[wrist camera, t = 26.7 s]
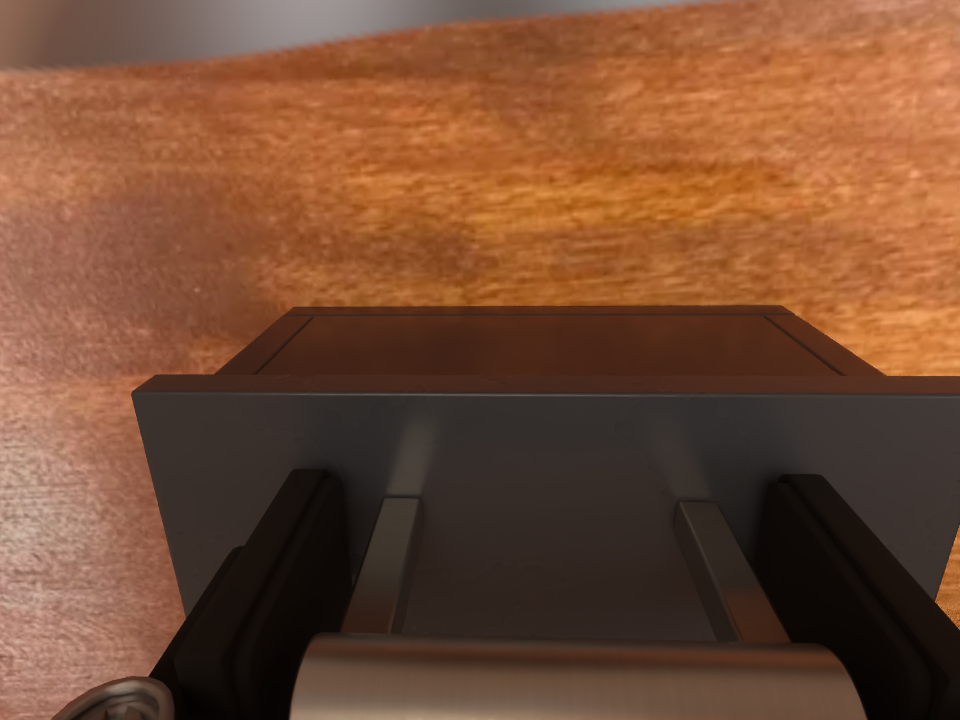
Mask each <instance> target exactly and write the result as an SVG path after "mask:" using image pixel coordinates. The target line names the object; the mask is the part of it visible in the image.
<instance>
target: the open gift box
mask: <svg viewBox="0 0 960 720" xmlns="http://www.w3.org/2000/svg"><path fill="white" fill-rule="evenodd" d="M214 375H604V376H886V375H885V374H883V373H882V372H880V371H879V370H877V369H876V368H874V367H873V366H871V365H870V364H868V363H867V362H865V361H864V360H862V359H861V358H859V357H858V356H856V355H855V354H853V353H852V352H850V351H849V350H847V349H846V348H844V347H843V346H842V345H840V344H839V343H837V342H836V341H834V340H833V339H831V338H830V337H828V336H827V335H825V334H824V333H822V332H821V331H819V330H818V329H816V328H815V327H813V326H812V325H810V324H809V323H807V322H806V321H804V320H803V319H801V318H800V317H798V316H796V315H795V314H794V313H792V312H791V311H789V310H788V309H786V308H785V307H784V306H781V305H774V306H468V307H293V308H292V309H290V310H289V311H288V312H287V313H286V314H285V315H284V316H282V317H281V318H280V319H278V320H277V321H276V322H275V323H274V324H272V325H271V326H270V327H269V328H268V329H267V330H265V331H264V332H263V333H262V334H261V335H260V336H258V337H257V338H256V339H255V340H254V341H252V342H251V343H250V344H249V345H248V346H247V347H245V348H244V349H243V350H242V351H241V352H239V353H238V354H237V355H236V356H235V357H234V358H232V359H231V360H230V361H229V362H228V363H227V364H225V365H224V366H223V367H222V368H221V369H219V370H218V371H217V372H216V373H215V374H214Z"/></svg>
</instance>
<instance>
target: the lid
mask: <svg viewBox="0 0 960 720" xmlns="http://www.w3.org/2000/svg"><path fill="white" fill-rule="evenodd" d="M131 396H132V400H133V404H134V408H135V412H136V416H137V420H138V424H139V428H140V433H141V437H142V441H143V445H144V449H145V453H146V457H147V461H148V465H149V469H150V473H151V477H152V481H153V485H154V489H155V493H156V497H157V501H158V506H159V510H160V514H161V518H162V522H163V526H164V530H165V534H166V538H167V542H168V546H169V550H170V554H171V558H172V562H173V566H174V570H175V575H176V579H177V583H178V587H179V591H180V595H181V599H182V603H183V607H184V611H185V615H186V618H187V617H188V615H189V614H190V612H191V611H192V609H193V608H194V606H195V605H196V603H197V602H198V600H199V598H200V597H201V595H202V594H203V592H204V591H205V589H206V588H207V586H208V585H209V583H210V582H211V580H212V579H213V577H214V576H215V574H216V572H217V571H218V569H219V568H220V566H221V565H222V563H223V562H224V560H225V559H226V557H227V556H228V554H229V553H230V552H231V551H232V550H233V549H234V548H235V547H238V546H244V545H245V544H246V542H247V540H248V539H249V537H250V536H251V534H252V532H253V531H254V529H255V528H256V526H257V525H258V523H259V521H260V520H261V518H262V517H263V515H264V513H265V512H266V510H267V509H268V507H269V505H270V504H271V502H272V501H273V499H274V498H275V496H276V494H277V493H278V491H279V490H280V488H281V486H282V485H283V483H284V482H285V480H286V478H287V477H288V475H289V474H290V472H291V471H292V470H293V469H327V470H328V472H329V474H330V478H339V480H340V483H341V489H342V498H343V507H344V515H345V524H346V533H347V541H348V550H349V559H350V567H351V576H352V585H353V589H352V592H351V594H350V597H349V600H348V603H347V606H346V609H345V612H344V615H343V618H342V621H341V624H340V627H339V630H338V632H321V633H318V634H316V635H314V636H313V637H312V638H311V639H310V641H309V643H308V644H307V646H306V648H305V650H304V652H303V655H302V657H301V660H300V662H299V665H298V668H297V671H296V675H295V678H294V682H293V686H292V691H291V696H290V701H289V707H288V714H287V720H869V718H868V715H867V712H866V708H865V706H864V703H863V700H862V697H861V695H860V692H859V690H858V688H857V686H856V684H855V681H854V679H853V678H852V676H851V674H850V672H849V671H848V669H847V668H846V666H845V665H844V663H843V662H842V661H841V659H840V658H839V657H838V656H837V655H836V654H835V653H834V652H833V651H832V650H830V649H829V648H827V647H825V646H823V645H820V644H816V643H794V642H793V640H792V638H791V636H790V635H789V633H788V631H787V629H786V627H785V625H784V624H783V622H782V620H781V618H780V616H779V614H778V613H777V611H776V609H775V607H774V605H773V603H772V602H771V600H770V598H769V596H768V594H767V592H766V591H765V589H764V587H763V585H762V583H761V581H760V580H759V578H758V576H757V574H756V572H755V570H754V569H753V563H754V558H755V552H756V546H757V541H758V535H759V530H760V524H761V519H762V513H763V507H764V502H765V496H766V491H767V487H768V485H769V484H770V483H777V482H778V479H779V478H780V476H781V475H783V474H819V475H822V476H823V477H824V478H825V479H826V480H827V481H828V482H829V483H830V484H831V485H832V487H833V488H834V489H835V490H836V491H837V492H838V493H839V494H840V496H841V497H842V498H843V499H844V500H845V501H846V502H847V503H848V505H849V506H850V507H851V508H852V509H853V510H854V511H855V513H856V514H857V515H858V516H859V517H860V518H861V519H862V520H863V522H864V523H865V524H866V525H867V526H868V527H869V528H870V529H871V531H872V532H873V533H874V534H875V535H876V536H877V537H878V538H879V540H880V541H881V542H882V543H883V544H884V545H885V546H886V547H887V549H888V550H889V551H890V552H891V553H892V554H893V555H894V557H895V558H896V559H897V560H898V561H899V562H900V563H901V564H902V566H903V567H904V568H905V569H906V570H907V571H908V572H909V573H910V575H911V576H912V577H913V578H914V579H915V580H916V581H917V582H918V584H919V585H920V586H921V587H922V588H923V589H924V590H925V591H926V593H927V594H928V595H929V596H930V597H931V598H932V599H933V601H934V602H935V599H936V596H937V593H938V590H939V586H940V583H941V580H942V577H943V574H944V571H945V568H946V565H947V562H948V559H949V555H950V552H951V549H952V546H953V543H954V540H955V537H956V534H957V531H958V528H959V524H960V376H604V375H154V376H153V377H152V378H150V379H149V380H147V381H146V382H145V383H143V384H142V385H140V386H139V387H138V388H136V389H135V390H133V391H132V393H131Z"/></svg>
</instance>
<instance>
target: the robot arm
mask: <svg viewBox="0 0 960 720" xmlns="http://www.w3.org/2000/svg"><path fill="white" fill-rule="evenodd" d="M753 569H754V570H755V572H756V574H757V576H758V578H759V580H760V581H761V583H762V585H763V587H764V589H765V591H766V592H767V594H768V596H769V598H770V600H771V602H772V603H773V605H774V607H775V609H776V611H777V613H778V614H779V616H780V618H781V620H782V622H783V624H784V625H785V627H786V629H787V631H788V633H789V635H790V636H791V638H792V640H793V642H794V643H816V644H820V645H823V646H825V647H827V648H829V649H830V650H832V651H833V652H834V653H835V654H836V655H837V656H838V657H839V658H840V659H841V661H842V662H843V663H844V665H845V666H846V668H847V669H848V671H849V672H850V674H851V676H852V678H853V679H854V681H855V684H856V686H857V688H858V690H859V692H860V695H861V697H862V700H863V703H864V706H865V708H866V712H867V715H868V718H869V720H960V630H959V629H958V628H957V626H956V625H955V624H954V623H953V622H952V621H951V620H950V619H949V617H948V616H947V615H946V614H945V613H944V612H943V611H942V610H941V608H940V607H939V606H938V605H937V604H936V603H935V602H934V601H933V599H932V598H931V597H930V596H929V595H928V594H927V593H926V591H925V590H924V589H923V588H922V587H921V586H920V585H919V584H918V582H917V581H916V580H915V579H914V578H913V577H912V576H911V575H910V573H909V572H908V571H907V570H906V569H905V568H904V567H903V566H902V564H901V563H900V562H899V561H898V560H897V559H896V558H895V557H894V555H893V554H892V553H891V552H890V551H889V550H888V549H887V547H886V546H885V545H884V544H883V543H882V542H881V541H880V540H879V538H878V537H877V536H876V535H875V534H874V533H873V532H872V531H871V529H870V528H869V527H868V526H867V525H866V524H865V523H864V522H863V520H862V519H861V518H860V517H859V516H858V515H857V514H856V513H855V511H854V510H853V509H852V508H851V507H850V506H849V505H848V503H847V502H846V501H845V500H844V499H843V498H842V497H841V496H840V494H839V493H838V492H837V491H836V490H835V489H834V488H833V487H832V485H831V484H830V483H829V482H828V481H827V480H826V479H825V478H824V477H823V476H822V475H819V474H783V475H781V476H780V478H779V479H778V482H777V483H770V484H769V485H768V487H767V491H766V496H765V502H764V507H763V513H762V519H761V524H760V530H759V535H758V541H757V546H756V552H755V558H754V563H753ZM352 589H353V585H352V576H351V567H350V559H349V550H348V541H347V533H346V524H345V515H344V507H343V498H342V489H341V483H340V480H339V478H330V474H329V472H328V470H327V469H293V470H292V471H291V472H290V474H289V475H288V477H287V478H286V480H285V482H284V483H283V485H282V486H281V488H280V490H279V491H278V493H277V494H276V496H275V498H274V499H273V501H272V502H271V504H270V505H269V507H268V509H267V510H266V512H265V513H264V515H263V517H262V518H261V520H260V521H259V523H258V525H257V526H256V528H255V529H254V531H253V532H252V534H251V536H250V537H249V539H248V540H247V542H246V544H245V545H244V546H238V547H235V548H234V549H233V550H232V551H231V552H230V553H229V554H228V556H227V557H226V559H225V560H224V562H223V563H222V565H221V566H220V568H219V569H218V571H217V572H216V574H215V576H214V577H213V579H212V580H211V582H210V583H209V585H208V586H207V588H206V589H205V591H204V592H203V594H202V595H201V597H200V598H199V600H198V602H197V603H196V605H195V606H194V608H193V609H192V611H191V612H190V614H189V615H188V617H187V618H186V620H185V621H184V623H183V625H182V626H181V628H180V629H179V631H178V632H177V634H176V635H175V637H174V638H173V640H172V641H171V643H170V644H169V646H168V647H167V649H166V651H165V652H164V654H163V655H162V657H161V658H160V660H159V661H158V663H157V664H156V666H155V667H154V669H153V670H152V672H151V673H150V675H149V677H138V676H130V677H126V678H121V679H117V680H112V681H109V682H107V683H104V684H102V685H100V686H97V687H95V688H93V689H90V690H89V691H87V692H85V693H84V694H82V695H81V696H79V697H78V698H76V699H74V700H73V701H71V702H70V703H69V704H67V705H66V706H65V707H64V708H63V709H62V710H61V711H60V712H59V713H57V714H56V715H55V716H54V717H53V718H52V719H51V720H287V714H288V707H289V701H290V696H291V691H292V686H293V682H294V678H295V675H296V671H297V668H298V665H299V662H300V660H301V657H302V655H303V652H304V650H305V648H306V646H307V644H308V643H309V641H310V639H311V638H312V637H313V636H314V635H316V634H318V633H321V632H338V630H339V627H340V624H341V621H342V618H343V615H344V612H345V609H346V606H347V603H348V600H349V597H350V594H351V592H352Z"/></svg>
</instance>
